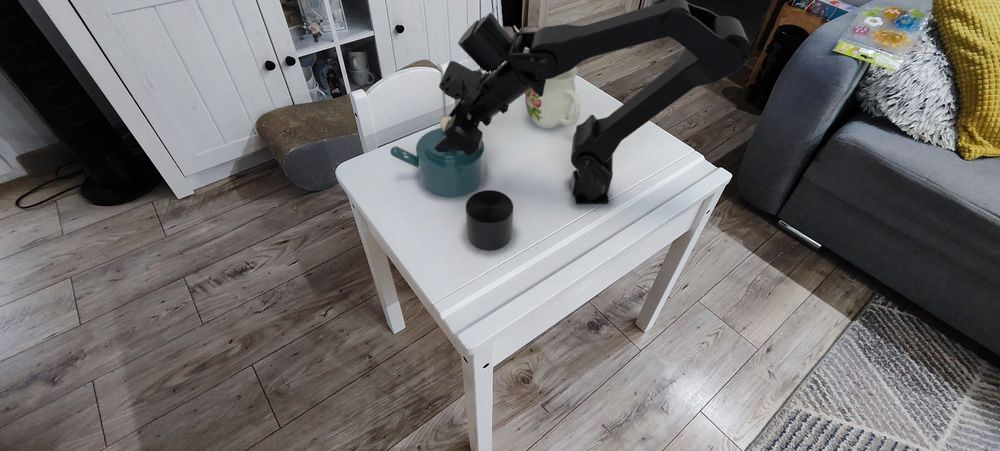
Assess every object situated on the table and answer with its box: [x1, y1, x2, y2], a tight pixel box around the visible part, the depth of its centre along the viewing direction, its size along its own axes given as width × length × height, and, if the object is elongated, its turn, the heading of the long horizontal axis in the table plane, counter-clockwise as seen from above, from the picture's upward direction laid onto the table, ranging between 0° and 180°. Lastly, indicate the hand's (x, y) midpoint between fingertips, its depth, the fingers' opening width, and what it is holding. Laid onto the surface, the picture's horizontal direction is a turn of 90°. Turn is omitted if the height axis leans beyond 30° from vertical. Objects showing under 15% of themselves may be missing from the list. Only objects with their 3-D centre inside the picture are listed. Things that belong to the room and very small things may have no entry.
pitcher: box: [524, 65, 582, 129], centre depth 100 cm, size 11×18×14 cm, turn 32°
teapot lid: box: [425, 115, 466, 159], centre depth 84 cm, size 9×9×6 cm
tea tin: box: [465, 189, 514, 252], centre depth 79 cm, size 8×8×7 cm
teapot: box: [389, 127, 485, 198], centre depth 91 cm, size 18×17×8 cm
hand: (442, 134), depth 85 cm, fingers open, 9 cm apart
